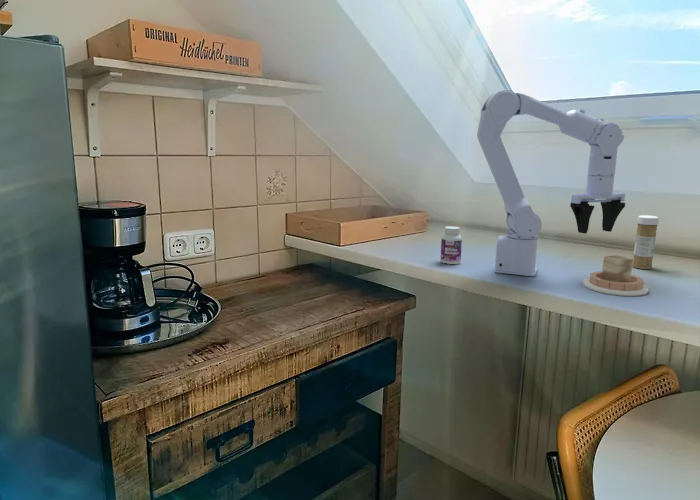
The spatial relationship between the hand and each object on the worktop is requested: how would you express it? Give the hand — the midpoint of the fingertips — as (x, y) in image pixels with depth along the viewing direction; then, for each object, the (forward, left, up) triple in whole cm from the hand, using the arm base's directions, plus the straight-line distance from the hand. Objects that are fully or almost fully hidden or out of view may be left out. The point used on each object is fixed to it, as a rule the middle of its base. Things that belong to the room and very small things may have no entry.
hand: (594, 231), depth 119 cm
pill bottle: (-34, -4, -11) cm, 36 cm away
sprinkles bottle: (+12, +12, -11) cm, 20 cm away
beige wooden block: (+5, -11, -10) cm, 15 cm away
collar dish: (+5, -11, -10) cm, 16 cm away
